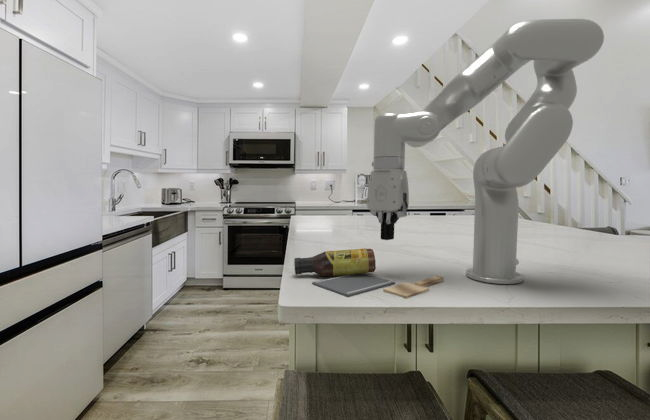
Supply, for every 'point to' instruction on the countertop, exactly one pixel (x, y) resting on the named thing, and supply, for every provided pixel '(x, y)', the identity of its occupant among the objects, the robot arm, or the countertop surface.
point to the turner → (413, 287)
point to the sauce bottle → (337, 263)
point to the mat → (353, 284)
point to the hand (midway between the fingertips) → (387, 239)
